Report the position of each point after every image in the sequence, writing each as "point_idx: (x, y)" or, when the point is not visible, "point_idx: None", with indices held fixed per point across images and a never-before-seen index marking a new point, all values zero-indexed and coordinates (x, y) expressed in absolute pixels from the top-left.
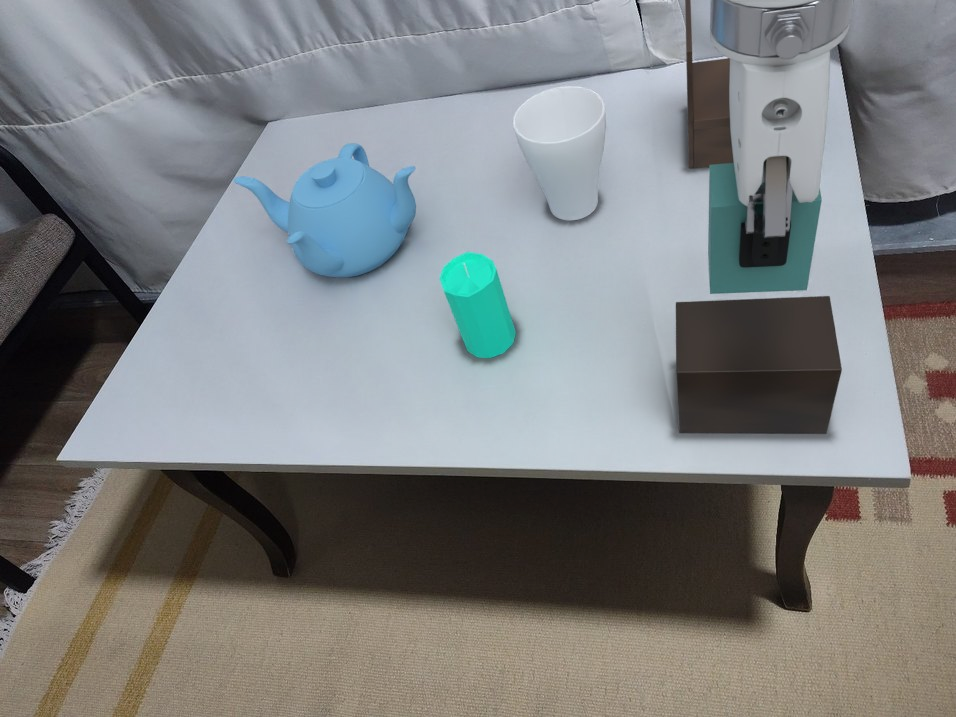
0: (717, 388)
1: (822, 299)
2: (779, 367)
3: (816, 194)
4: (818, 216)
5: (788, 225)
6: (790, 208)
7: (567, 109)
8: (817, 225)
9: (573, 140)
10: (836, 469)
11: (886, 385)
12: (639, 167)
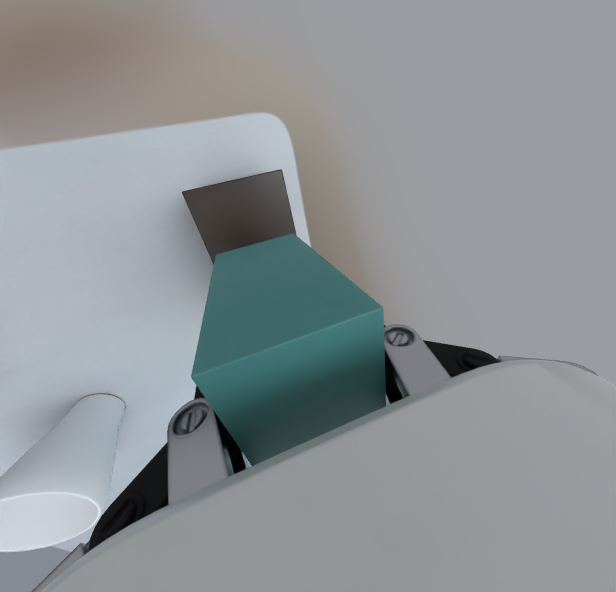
0: None
1: (190, 199)
2: (290, 227)
3: (609, 381)
4: (354, 284)
5: (416, 336)
6: (440, 366)
7: (3, 509)
8: (340, 273)
9: (74, 491)
10: (292, 162)
11: (199, 121)
12: (10, 390)
